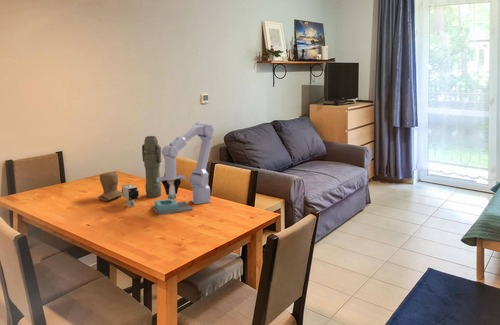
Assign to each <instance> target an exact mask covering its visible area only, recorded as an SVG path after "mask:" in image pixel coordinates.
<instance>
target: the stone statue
mask: <svg viewBox="0 0 500 325" xmlns="http://www.w3.org/2000/svg"><path fill="white" fill-rule="evenodd" d="M143 142H144V143H143V144H142V146H141V156H142V162H143V163H144V164H143V166H144V168H145V185H144V186H145V187H144V188H145V196H146V198H150V199H151V198H152V199H155V198H159V197H161V196H162V184H161V183H162V182H157V178H159V177H161V175H160V168H161V163H162V147H161V146H160V144H159V142H158V138H157V136H155V135H148V136H145V137H144V141H143Z"/></svg>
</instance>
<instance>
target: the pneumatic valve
mask: <svg viewBox="0 0 500 325" xmlns="http://www.w3.org/2000/svg"><path fill="white" fill-rule="evenodd" d="M121 192H122V197H123V198H125V199H126V200H125V202H126V206H127V208H128V207H129V208H130V207H135V206H136V203H135V200H138V199H139V190H138V187H137V186H136V185H132V184H130V183H129V184H123V185H121Z"/></svg>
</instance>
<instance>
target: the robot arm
mask: <svg viewBox="0 0 500 325" xmlns="http://www.w3.org/2000/svg"><path fill="white" fill-rule="evenodd" d="M214 130H215V129H214V127H213V125H212V124H211V123H205V122H204V123H203V122H200V121H199V122H198V121H196V122H195V123H194V124H192V125H191V128H190V129H189V130H187V132H186V133H185V134H184V135H183V136H177V137H175V139H174V140H173V141H172V142H169V144H166V145H164V146H163V147H162V149H161V155H163V159H164V174H165V175H164V176H160V177H159V178H157V182H160V183H162V184H161V185H163V188H164V190H165V194H166V195H167V196H168V183H169V182H171V181H172V182H175V189H176V195H177V194H178V192H179V191H178V190H179V188H180V185H181V183H182V181H181V180H186V176H185V174H183V175H182V174H181V175H179V174H178V175H177V156H179V152H180V151H181V150H182V149H183V148H184V147H186V146H187V142H188V141H190V140H192V138H194V137H195V136H198V137H199V138H200V140H201V144H200V149H199V153H198V156H197V157H198V158H197V162H196V167H195V169H192V172H191V174H190V175H189V183H190V184H191V186H192V198H191V199H190V201H191V202H192V203H193V204H194V205H198V204H207V203H211V202H212V201H211V188H210V185H209V175H210V173H209V172H208V171H207V165H208V161H209V158H210V153H211V149H212V144H213V135H214Z"/></svg>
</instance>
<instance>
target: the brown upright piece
mask: <svg viewBox="0 0 500 325" xmlns="http://www.w3.org/2000/svg"><path fill="white" fill-rule="evenodd" d="M99 182H100V185H101V187H102V189H103V193H102V194H100V195H99V196H97V197H98V199H99V200H101V201H103V202H107V201H111V200H113V199H115V198H116V199H117V197H118V198H119V197H120V196H123V194H122V191H119V190H118V185H119V177H118V173H117V172H116V171H110V172H109V171H108V172H103V173H100V174H99Z"/></svg>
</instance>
